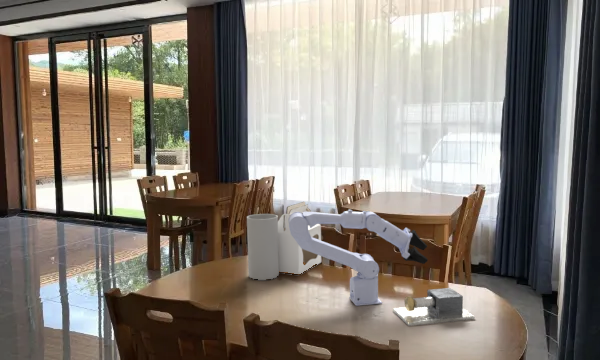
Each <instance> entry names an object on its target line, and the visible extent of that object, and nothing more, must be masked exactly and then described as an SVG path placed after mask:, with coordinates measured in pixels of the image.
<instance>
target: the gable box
mask: <svg viewBox="0 0 600 360" xmlns="http://www.w3.org/2000/svg"><path fill="white" fill-rule="evenodd" d="M308 206H309V204H306V202H305V201H302V202H298V203H295V204H292V205H291V204H290V205H288V206H287V207H286V212H285V213H283V214H282V215H281V216H280V217H279V218H278V254H279V271H280V272H288V273H294V274H301V273H302V274H304V273H305V272H304V271H306V270H307V271H309V270H310V269H309V268H311V267H312V266H313V265H315V264H317V265H319V264H321V263H322V256H320V255H317V254H315V253H312V252H309V251H307V250H304V249H302V248H301V247H300V246H299V244H298V243H297V242H296V240H295V239H294V237H293V236H292V235H291V232H290V229H289V222H288V219H289V216H290V215H291V214H292V213H294V212H301V213H303V212H312V210H311V209H310V208H308ZM308 230H309V233H310V235H311V237H313V238H316V239H318V240H321V241H322V225H321V224H316V225H315V226H313V227H312V228H310V226H309V225H308ZM303 262H305V263H306V264H305V265H304V264H303ZM312 268H313V267H312ZM312 268H311V269H312ZM308 269H309V270H308ZM307 271H306V272H307ZM303 272H304V273H303ZM302 274H301V275H302Z"/></svg>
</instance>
